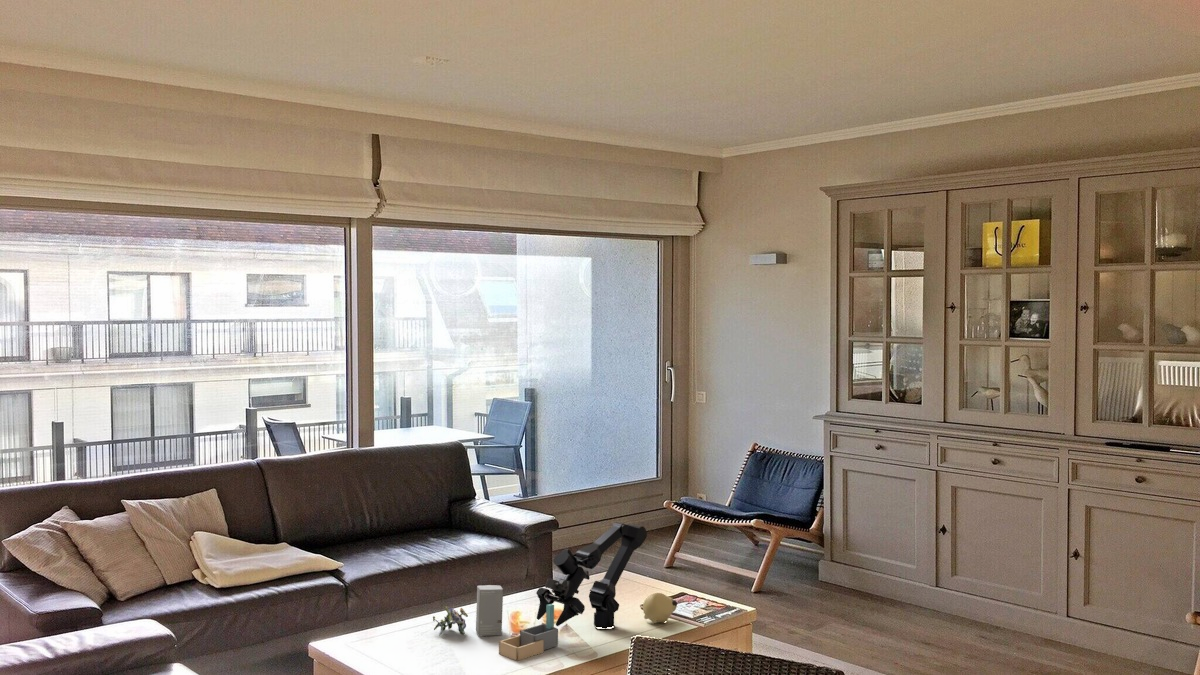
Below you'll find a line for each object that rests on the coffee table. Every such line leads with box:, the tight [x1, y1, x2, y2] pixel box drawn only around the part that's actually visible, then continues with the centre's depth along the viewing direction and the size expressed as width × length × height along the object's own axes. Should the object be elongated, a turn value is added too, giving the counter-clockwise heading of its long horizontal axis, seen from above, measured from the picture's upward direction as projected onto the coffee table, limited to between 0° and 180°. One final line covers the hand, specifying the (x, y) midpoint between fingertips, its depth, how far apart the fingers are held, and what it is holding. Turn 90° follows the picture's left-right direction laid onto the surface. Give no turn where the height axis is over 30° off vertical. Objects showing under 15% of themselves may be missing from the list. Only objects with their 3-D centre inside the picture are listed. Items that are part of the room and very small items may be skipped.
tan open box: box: [498, 634, 544, 662], centre depth 311 cm, size 11×9×4 cm
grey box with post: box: [519, 604, 559, 651], centre depth 317 cm, size 11×7×13 cm, turn 136°
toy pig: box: [642, 592, 678, 624], centre depth 345 cm, size 10×12×11 cm
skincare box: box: [475, 584, 504, 638], centre depth 331 cm, size 8×7×16 cm
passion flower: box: [432, 606, 468, 636], centre depth 329 cm, size 11×11×12 cm
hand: (546, 622), depth 319 cm, fingers open, 9 cm apart
